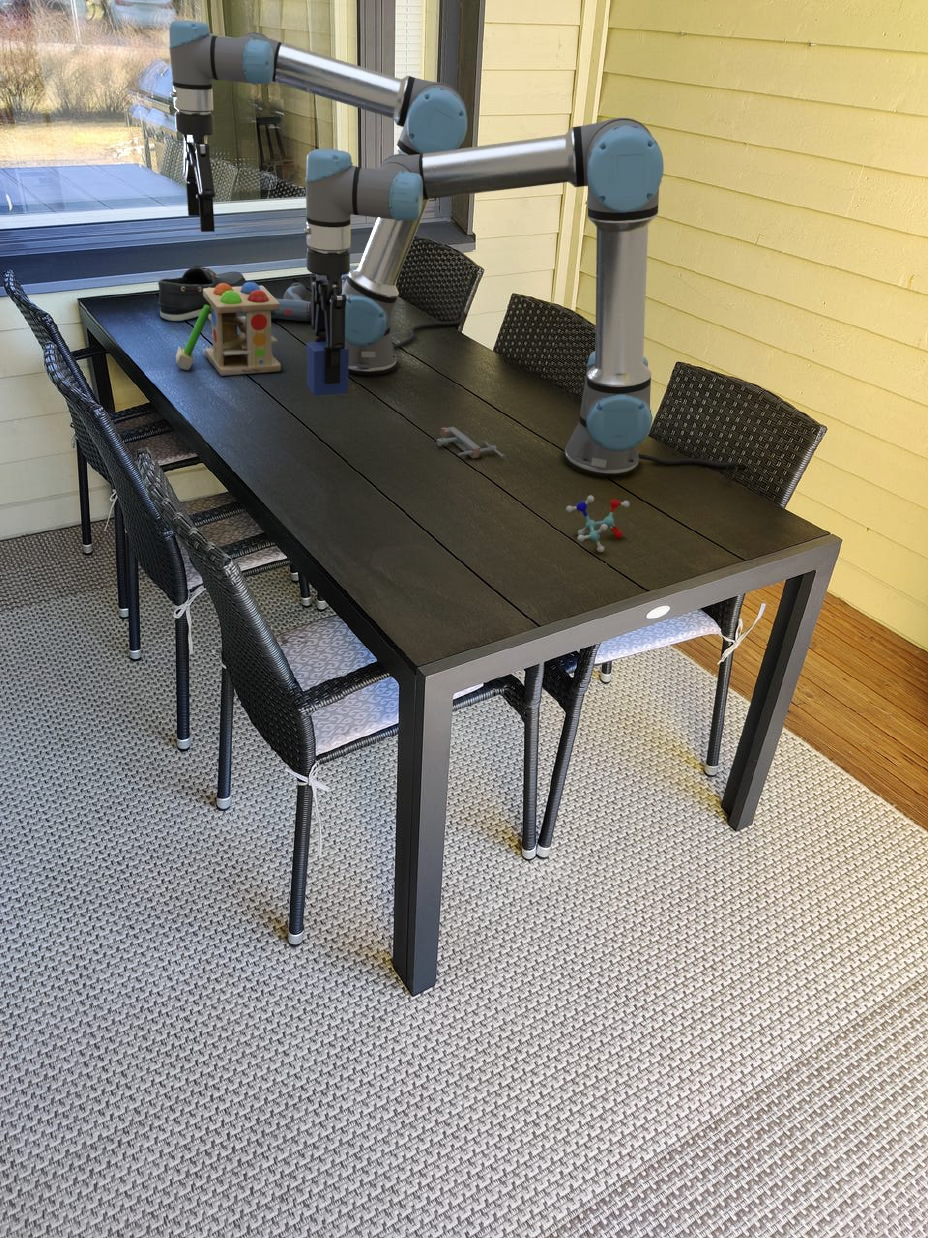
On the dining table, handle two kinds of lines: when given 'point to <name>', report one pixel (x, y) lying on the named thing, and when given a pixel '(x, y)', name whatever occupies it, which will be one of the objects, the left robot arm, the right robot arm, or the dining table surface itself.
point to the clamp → (464, 443)
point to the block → (318, 370)
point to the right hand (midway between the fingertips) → (327, 376)
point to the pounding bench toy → (229, 347)
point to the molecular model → (591, 523)
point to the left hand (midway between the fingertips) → (201, 223)
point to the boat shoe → (191, 292)
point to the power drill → (294, 305)
